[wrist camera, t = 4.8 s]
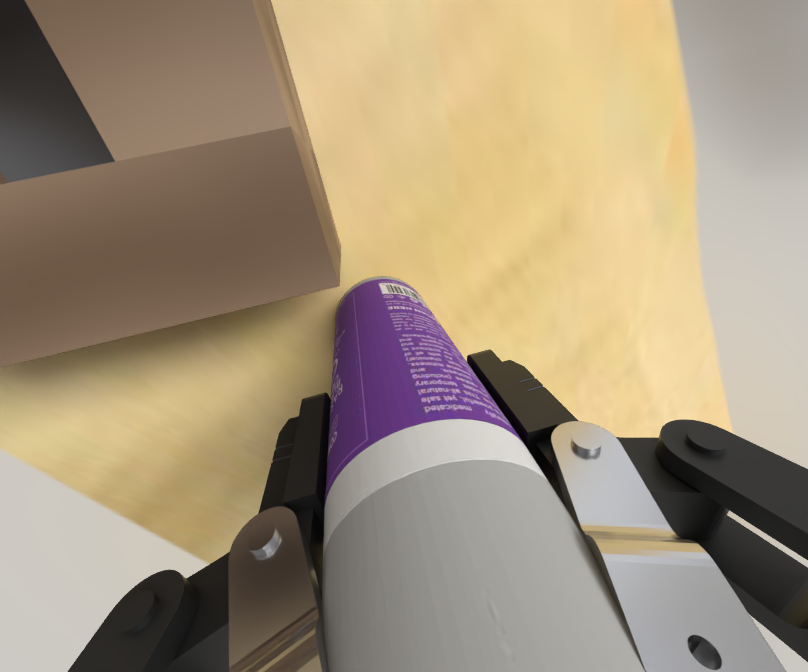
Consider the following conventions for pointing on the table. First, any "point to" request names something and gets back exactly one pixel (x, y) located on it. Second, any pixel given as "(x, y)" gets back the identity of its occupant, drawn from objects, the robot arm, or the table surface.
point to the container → (445, 516)
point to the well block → (150, 171)
